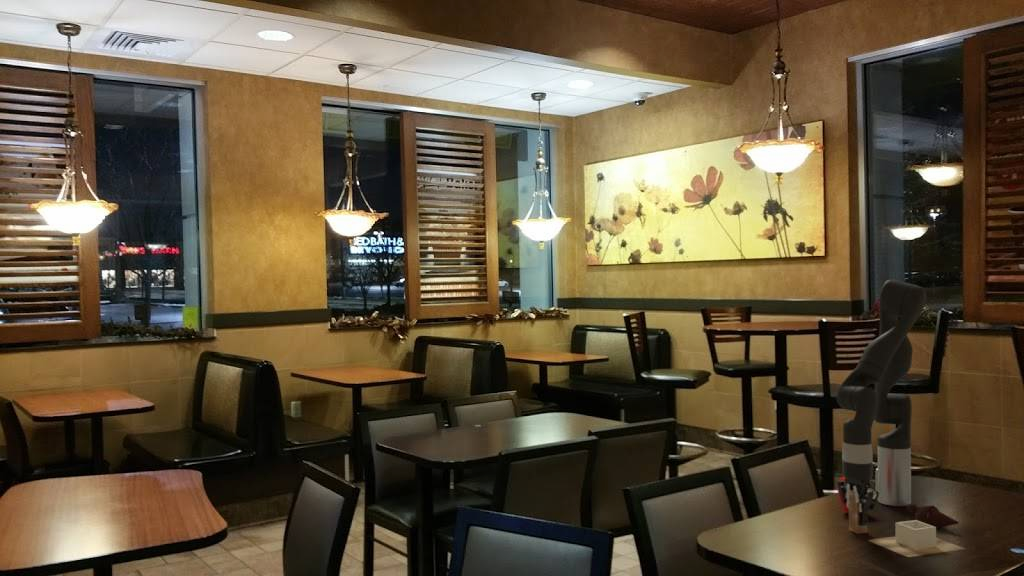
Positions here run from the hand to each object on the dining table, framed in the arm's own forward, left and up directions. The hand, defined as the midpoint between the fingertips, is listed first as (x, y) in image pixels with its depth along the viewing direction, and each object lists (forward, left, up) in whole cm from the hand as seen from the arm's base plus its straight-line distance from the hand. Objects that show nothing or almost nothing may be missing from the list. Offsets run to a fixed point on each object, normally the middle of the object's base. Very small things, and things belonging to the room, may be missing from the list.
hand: (857, 523), depth 226 cm
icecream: (+3, +21, -3) cm, 22 cm away
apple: (-17, +13, -3) cm, 22 cm away
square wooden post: (0, 0, -3) cm, 3 cm away
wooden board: (+14, +6, -3) cm, 16 cm away
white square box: (+14, +6, -2) cm, 15 cm away
